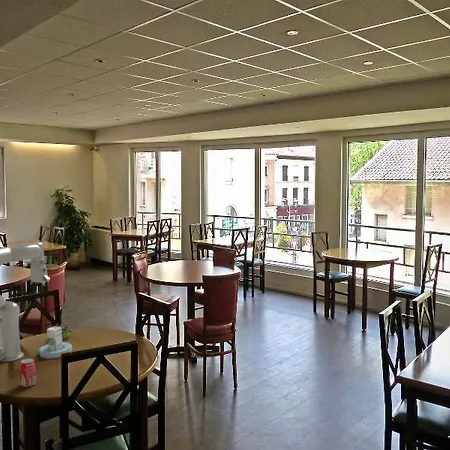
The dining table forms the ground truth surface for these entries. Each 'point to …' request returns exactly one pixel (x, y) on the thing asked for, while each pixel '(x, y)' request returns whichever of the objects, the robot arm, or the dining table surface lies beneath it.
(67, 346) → the pale blue ring
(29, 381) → the soda can
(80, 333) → the dining table surface
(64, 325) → the passion flower
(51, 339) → the syrup box
